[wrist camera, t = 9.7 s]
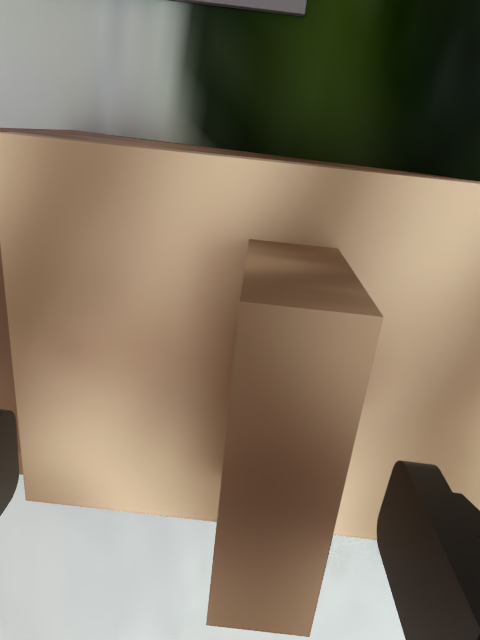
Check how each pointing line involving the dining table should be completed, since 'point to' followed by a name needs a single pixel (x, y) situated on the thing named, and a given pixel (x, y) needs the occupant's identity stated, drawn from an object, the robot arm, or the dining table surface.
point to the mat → (259, 5)
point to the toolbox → (3, 388)
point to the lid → (239, 347)
